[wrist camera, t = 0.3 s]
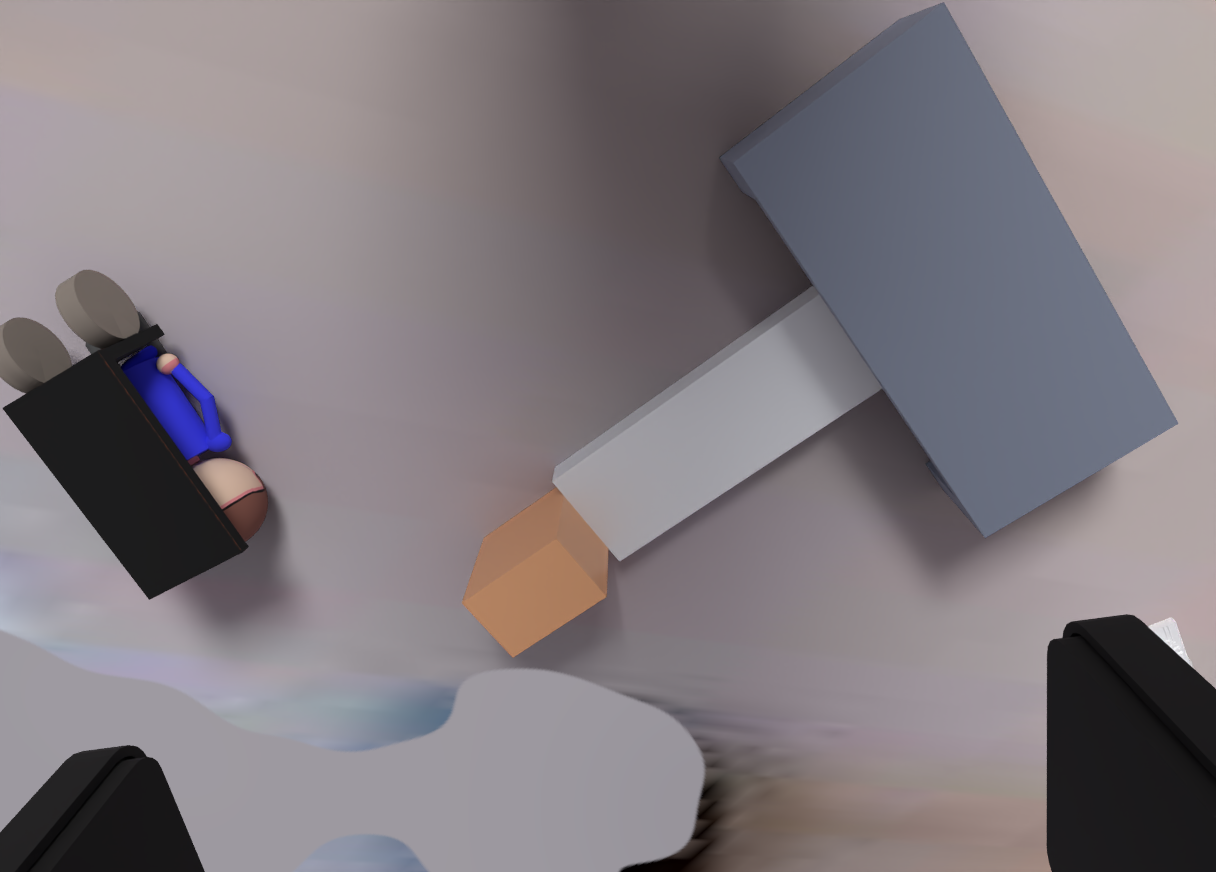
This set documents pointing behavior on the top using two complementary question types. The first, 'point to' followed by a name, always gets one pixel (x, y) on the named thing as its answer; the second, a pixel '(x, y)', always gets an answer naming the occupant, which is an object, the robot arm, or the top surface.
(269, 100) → the top surface
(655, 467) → the scraper tool
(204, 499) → the figurine character
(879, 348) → the riser shelf
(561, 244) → the top surface
